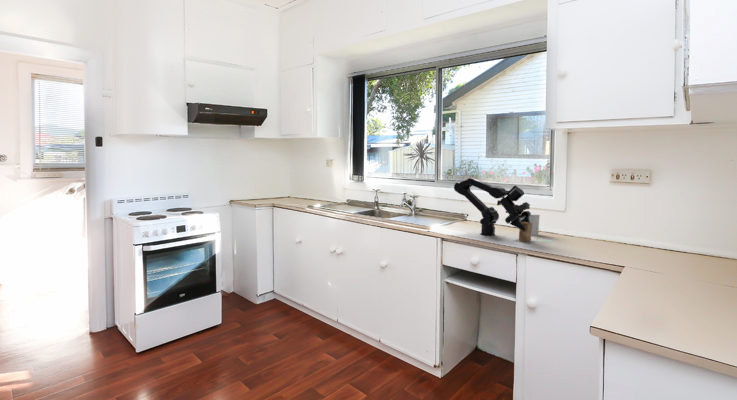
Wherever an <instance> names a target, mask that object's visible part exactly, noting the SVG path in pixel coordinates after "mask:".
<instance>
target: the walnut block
mask: <svg viewBox="0 0 737 400" xmlns="http://www.w3.org/2000/svg"><path fill="white" fill-rule="evenodd" d="M521 223H522V225H523V226H524V228H525V231H523V230H521V229H519V231H518V232H519V234H518V239H519V241H522V242H530V241H532V235H531V231H532V223H529V222H521Z"/></svg>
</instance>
